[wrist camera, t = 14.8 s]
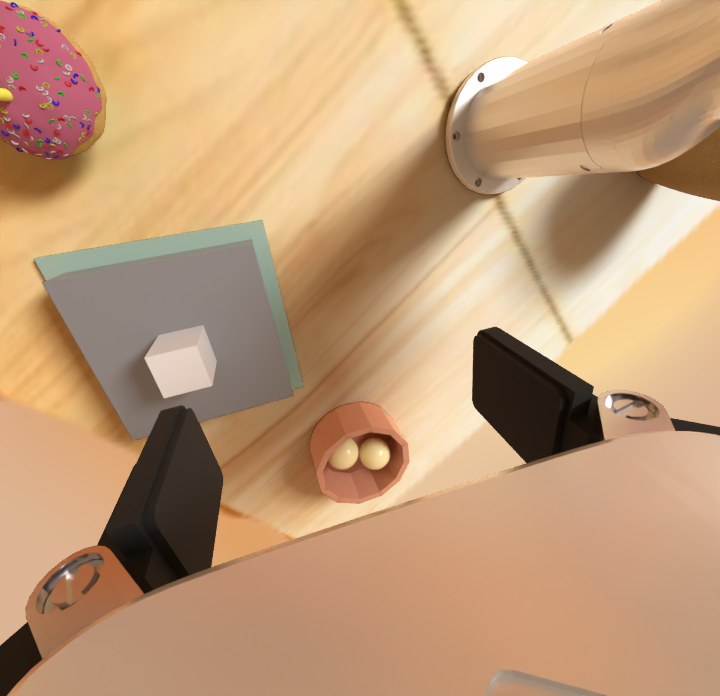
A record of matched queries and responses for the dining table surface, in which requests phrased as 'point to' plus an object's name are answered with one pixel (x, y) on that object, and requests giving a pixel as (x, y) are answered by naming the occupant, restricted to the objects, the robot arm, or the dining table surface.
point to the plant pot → (692, 170)
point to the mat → (186, 242)
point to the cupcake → (46, 87)
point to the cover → (176, 333)
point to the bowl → (358, 452)
